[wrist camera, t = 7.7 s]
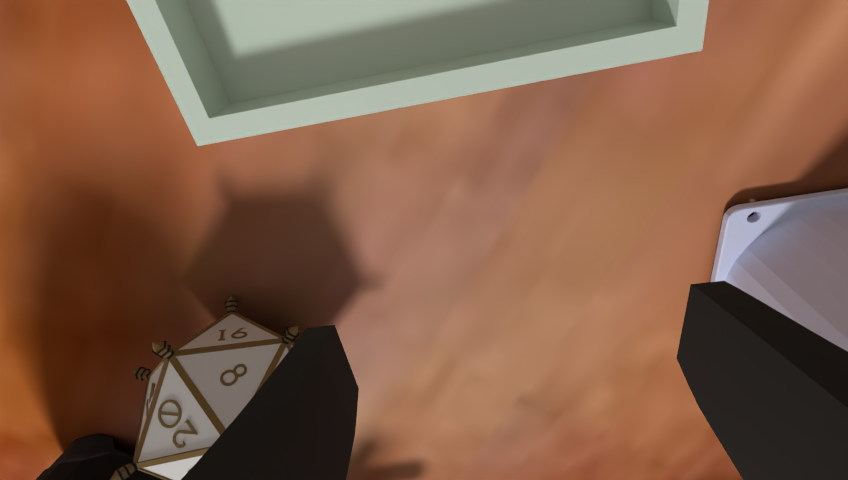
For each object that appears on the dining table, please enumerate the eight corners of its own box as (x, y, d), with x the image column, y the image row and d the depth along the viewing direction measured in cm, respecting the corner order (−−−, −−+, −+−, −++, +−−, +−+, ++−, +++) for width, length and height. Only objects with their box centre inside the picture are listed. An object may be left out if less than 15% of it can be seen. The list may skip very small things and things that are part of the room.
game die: (252, 297, 26) (47, 395, 19) (313, 240, 20) (49, 350, 13) (328, 427, 26) (148, 578, 19) (412, 407, 20) (196, 616, 13)
